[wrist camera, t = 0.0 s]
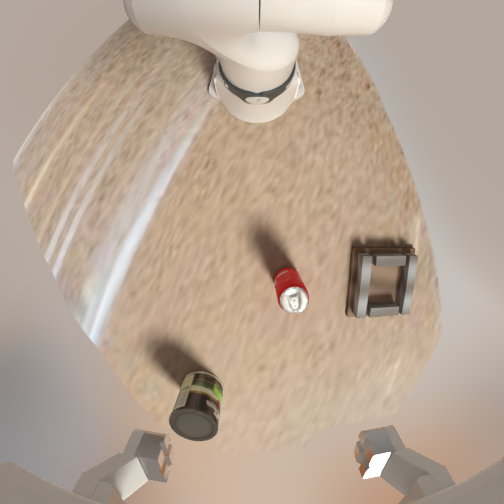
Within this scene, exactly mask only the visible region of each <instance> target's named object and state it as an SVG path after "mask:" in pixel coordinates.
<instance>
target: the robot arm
mask: <svg viewBox="0 0 504 504" xmlns="http://www.w3.org/2000/svg"><path fill="white" fill-rule="evenodd" d="M123 1H124V7H125V11H126V13H127V15H128V17H129V19H130V20H131V22H132V23H133V24H134V25H135V26H136V27H137V28H138V29H140V30H141V31H142V32H144V33H145V34H147V35H154V36H164V37H170V38H176V39H180V40H184V41H187V42H190V43H192V44H195V45H197V46H200V47H202V48H204V49H206V50H208V51H209V52H211V53H213V54H214V55H215V58H216V59H217V60H216V64H215V65H214V71H213V75H212V78H211V82H210V86H209V94H210V96H212V97H213V98H215V99H217V100H218V101H220V102H221V103H222V104H223V105H224V107H225V108H226V109H227V110H228V112H229V113H231V114H232V115H233V116H235V117H236V118H238V119H240V120H243V121H246V122H250V123H264V122H268V121H271V120H274V119H276V118H278V117H279V116H281V115H282V114H283V113H284V112H285V111H286V110H287V109H288V107H289V106H290V105H291V103H292V102H293V101H295V100H297V99H299V98H300V97H302V96H303V95H304V92H305V89H304V85H303V82H302V78H301V75H300V71H299V67H298V64H297V61H296V57H297V54H298V51H299V38H298V35H297V34H309V35H318V36H368V35H371V34H373V33H374V32H376V31H377V30H378V29H379V28H380V27H381V26H382V25H383V24H384V23H385V22H386V20H387V19H388V17H389V14H390V13H391V10H392V6H393V0H123ZM214 85H215V87H214ZM169 442H170V437H169V435H167V434H161V433H156V432H151V431H145V430H140V429H135V430H134V431H133V432H132V434H131V437H130V439H129V441H128V443H127V445H126V447H125V449H124V452H123V453H118V454H117V455H115V456H113V457H112V458H110V459H108V460H106V461H104V462H103V463H101V464H99V465H97V466H95V467H93V468H91V469H89V470H88V471H86V472H84V473H82V475H81V477H80V478H79V480H78V482H77V484H76V486H75V488H74V490H73V491H72V492H71V491H68V490H66V489H64V488H61V487H59V486H57V485H55V484H53V483H51V482H49V481H47V480H45V479H43V478H41V477H39V476H37V475H35V474H33V473H31V472H29V471H28V470H26V469H24V468H22V467H20V466H19V465H17V464H15V463H12V462H6V463H2V464H0V504H125V502H124V501H123V500H124V499H126V498H127V497H128V496H130V495H131V494H132V493H133V492H134V491H136V490H137V489H138V488H139V487H141V486H142V485H143V484H144V483H146V482H147V481H148V479H149V480H154V481H161V482H167V479H168V476H169V472H170V471H169V468H168V466H170V465H171V464H172V461H173V454H174V453H173V447H172V445H171V444H169ZM355 458H356V461H357V462H358V463H360V464H361V465H360V467H359V470H360V473H361V476H362V479H364V478H370V477H375V476H379V475H380V477H382V478H383V479H384V480H386V481H387V482H388V483H389V484H390V485H392V486H393V487H394V488H396V489H397V490H398V491H400V492H401V493H402V494H404V495H405V497H404V498H403V499H402V500H401V502H400V503H399V504H504V458H502V459H501V460H499V461H497V462H496V463H494V464H492V465H491V466H489V467H487V468H485V469H484V470H482V471H480V472H478V473H476V474H474V475H473V476H471V477H469V478H467V479H465V480H463V481H461V482H459V483H457V484H455V482H454V481H453V479H452V477H451V475H450V474H449V472H448V470H447V468H446V467H445V466H443V465H441V464H439V463H437V462H435V461H433V460H431V459H429V458H427V457H425V456H423V455H421V454H419V453H417V452H416V451H414V450H412V449H410V448H407V449H406V448H405V446H404V444H403V442H402V440H401V438H400V436H399V435H398V433H397V431H396V429H395V427H394V426H393V425H391V426H386V427H382V428H376V429H371V430H366V431H361V432H360V434H359V441H358V442H357V443H356V446H355Z"/></svg>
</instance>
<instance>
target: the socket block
mask: <svg viewBox="0 0 504 504" xmlns="http://www.w3.org/2000/svg"><path fill="white" fill-rule="evenodd" d="M417 259H418V256H416V255H415V248H375V247H352V260H351V273H350V284H349V294H348V303H347V312H346V316H347V317H356V318H365V316H369V317H380V316H392V315H398V313H400V314H402V315H403V314H409V312H410V307H411V301H412V295H413V289H414V282H415V275H416V267H417Z"/></svg>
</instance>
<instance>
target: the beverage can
mask: <svg viewBox="0 0 504 504" xmlns="http://www.w3.org/2000/svg"><path fill="white" fill-rule="evenodd" d="M274 283H275V288H276V293H277V298H278V303H279V305H280V307H281V308H282V309H283V310H284V311H286V312H288V313H299V312H301V311H302V310H304V309H305V307H306V306H307V304H308V301H309V294H308V291H307V289H306V287H305V286H304V284H303V282H302V280H301V278H300V276H299V274H298V272H297V271H295V270H294V269H292V268H284V269H281V270H280V271H278V272H277V274H276V275H275V278H274Z"/></svg>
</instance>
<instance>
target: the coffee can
mask: <svg viewBox="0 0 504 504" xmlns="http://www.w3.org/2000/svg"><path fill="white" fill-rule="evenodd" d="M223 391H224V388H223V384H222V382H221V381H220V380H219V379H218V378H217V377H216V376H214V375H213V374H211V373H208V372H203V371H196V372H192V373H190V374H188V375H187V376H186V377H185V378H184V380H183V384H182V386H181V389H180V392H179V395H178V397H177V400H176V403H175V405H174V408H173V411H172V413H171V415H170V417H169V424H170V426H171V428H172V429H173V430H174V432H176V433H177V434H178V435H180V436H182V437H184V438H186V439H189V440H193V441H204V440H209V439H211V438H213V437H214V436H215V435H216V434H217V431H218V421H219V415H220V408H221V401H222V396H223Z"/></svg>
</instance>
